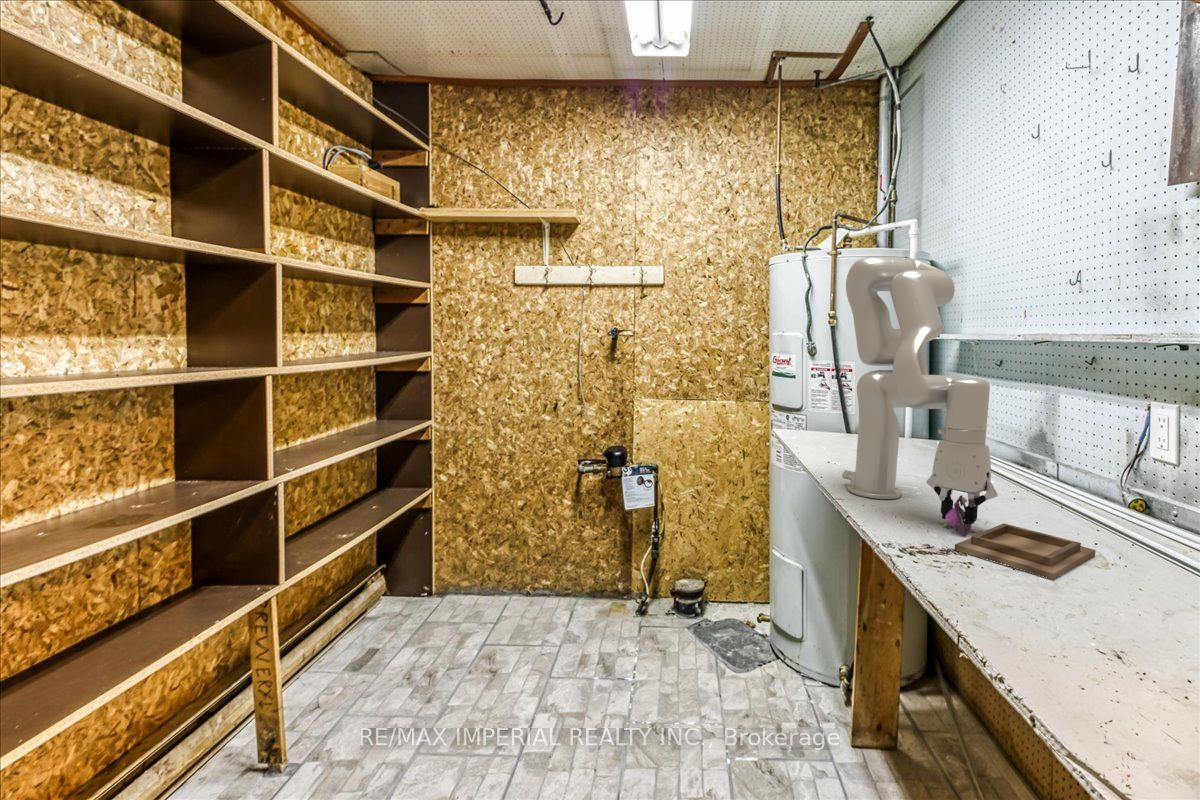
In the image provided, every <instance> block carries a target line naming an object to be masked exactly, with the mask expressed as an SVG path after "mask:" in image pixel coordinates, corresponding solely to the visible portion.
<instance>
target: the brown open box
mask: <svg viewBox="0 0 1200 800" xmlns="http://www.w3.org/2000/svg"><path fill="white" fill-rule="evenodd" d="M1081 544H1082V543H1081V542H1078V541H1075V540H1071V539H1067V538H1063V537H1060V536H1059V537H1058V536H1055V535H1052V534H1051V535H1050V534H1048V533H1043V532H1040V531H1036V530H1032V529H1027V528H1024V527H1019V526H1015V525H1012V524H1008V523H1001V524H998V525H996V526H994V527H991V528H989V529H986V530H984V531H980V532H979V533H975V534H973V535H971V537H970V538H967V539H964V540H962V541H960V542H957V543H955V544H954V551H956V552H959V553H962V554H965V553H966V555H968V554H970V555H969V556H972V555H973V557H975V556H977V557H976V558H978V557H981V558H980V559H982V558H984V559H983V560H985V559H988V560H992V561H995V562H998V563H1002V564H1006V565H1009V566H1012V567H1015V568H1018V569H1022V570H1025V571H1028V572H1031V573H1034V574H1037V575H1040V576H1039V577H1041V576H1044V577H1047V578H1050V579H1054V578H1056V577H1057V578H1059V577H1061V576H1062V575H1061V574H1063V573H1064V574H1066V573H1068V572H1070V571H1071V570H1073V569H1075V568H1076V566H1077V567H1078V566H1080V565H1081V564H1084V563H1086V562H1087V561H1088V560H1090V559H1092V558H1094V557H1096V549H1093V548H1089V547H1085V546H1081ZM988 560H987V561H988ZM995 562H994V563H995ZM998 563H997V564H998ZM1074 567H1075V568H1074ZM1072 568H1073V569H1072ZM1018 569H1017V570H1018ZM1069 570H1070V571H1069ZM1067 571H1068V572H1067ZM1065 572H1066V573H1065ZM1031 573H1030V574H1031ZM1034 574H1033V575H1034ZM1064 574H1063V575H1064ZM1037 575H1036V576H1037ZM1060 575H1061V576H1060ZM1058 576H1059V577H1058ZM1044 577H1043V578H1044ZM1047 578H1046V579H1047ZM1057 578H1056V579H1057ZM1050 579H1049V580H1050ZM1054 580H1055V579H1054Z"/></svg>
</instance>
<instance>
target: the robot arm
mask: <svg viewBox="0 0 1200 800" xmlns="http://www.w3.org/2000/svg"><path fill="white" fill-rule="evenodd" d="M953 280H954V279H952V277H951V276H950V275H949V274H948V273H947V272H946V271H945V270H941V269H940V268H938V267H935V266H932V265H930V264H928V263H926V262H923V261H922V260H919V259H915V258H909V257H895V256H894V257H892V256H867V257H863V258H860V259H858V260H856V261H854V263H853V264H852V265H851V266H850V268H849V269H848V272H847V275H846V280H845V293H846V297H847V301H848V304H849V307H850V311H851V313H852V317H853V325H854V333H855V339H856V346H857V347H856V349H857V353H858V357H859V359H860V361H861V362H862V363H863V364H864V365H867V366H875V367H886V366H887V367H892V369H877V370H876V369H875V370H872V371H871V370H870V371H868V372H866V373H864V374H863V375H862V376H861V377H860V378H859V380H858V381H857V385H856V395H857V403H858V404H857V405H858V429H857V442H856V443H857V445H856V459H855V470H854V471H852V470H848V469H845V470H844V471H843V474H842V475H841V478H842V479H845V480H850V482H849V484H848V485H847V490H848V491H849V492H850V493H851V494H854V495H856V496H859V497H863V498H864V497H865V498H869V499H878V500H895V499H898V498H901V497H902V490H900V489H901V488H900V489H899V488H897V487H896V481H897V479H896V478H897V470H898V469H897V467H898V457H899V456H898V455H899V444H900V429H901V428H900V426H901V425H900V422H899V419H898V416H897V413H895V410H894V409H897V408H910V409H914V410H936V409H937V410H945V419H944V426H943V428H942V427H940V428H938V430H937V431H938V432H937V433H938V435H941V436H942V439H941V440H939V441H938V444H937V447H936V451H935V454H934V455H935V456H934V459H933V466H932V472H931V474H930V476H929V477H928V479H927V480H926V484H927V485H928V486H929V487H930V488H931V489H933V490H934V492H935V494H936V495H937V496H938V498H939V500H940V501H941V502H940V503H941V504H940V514H941V519H942V520H946V519H945V517H946V514H947V513H948V512H949V511H950V510H951V509H953V508H954V500H953V499H952V495H953V491H957V492H963V493H965V494H967V502H968V504H967V505H966V508H965V510H964V511H965V519H964V521H965V525H966V526H968V525H973V524H975V522H976V521H977V520H978V510H979V506H981V505H982V504H983V503H984V502H986V501H989V500H992V499H995V498H997V497H999V496H998V492H997V490H996V488H995V487H994V485H993V483H992V482H991V479H992V478H991V477H992V465H991V464H992V463H991V462H992V461H991V452H990V448H989V445H987V444H986V440H987V426H988V425H987V424H988V415H989V413H988V412H989V402H990V390H991V387H990V383H989V382H988V380H985V379H982V378H973V377H972V378H970V377H962V376H959V375H954V374H953V375H951V374H929V371H928V364H927V359H926V352H925V347H924V346H925V345H924V344H925V343H928V342H931V341H932V340H934V339H936V338H937V337H939V336H940V335H941V334H942V333H943V332H944V325H943V322H942V318H941V316H940V311H939V307H940V308H941V307H944V306H946V305H947V304H949V303H950V302H951V301H952V299H953V297H954V295H955V291H956V289H955V284H954V283H955V282H954V281H953ZM878 292H890V296H891V300H892V304H893V307H894V311H895V314H896V319H897V322H898V326H899V328H894V327H893V325H892V322H891V315H890V311H889V308H888V306H887V304H886V303H885V301H884V300H883V298H881V296H880V295H879V294H878ZM982 492H985V493H984V494H983V495H981V493H982Z"/></svg>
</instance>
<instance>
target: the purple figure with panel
mask: <svg viewBox="0 0 1200 800" xmlns="http://www.w3.org/2000/svg"><path fill="white" fill-rule="evenodd" d="M967 502H968V498H966V497H965V496H963V495H962V494H961V495H959V497H958V498H957V499H956V502H955V503H953V509H951V510H950V511H949V512H948V513H947V514H946V517H945V519H944V520H945V523H944V524H943V525H942V527H943V528H945V527H947V526H948V525H950V526H954V527H955V526H958V525H959V526H960V529H961V533H962V536H963V537H967V535H968V533H969V531H970V530H969V529H971V528H972V525H973V524H971V525H965V521H964V520H965V508H966V506H967V505H966V503H967ZM962 507H963V509H962ZM970 527H971V528H970Z"/></svg>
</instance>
